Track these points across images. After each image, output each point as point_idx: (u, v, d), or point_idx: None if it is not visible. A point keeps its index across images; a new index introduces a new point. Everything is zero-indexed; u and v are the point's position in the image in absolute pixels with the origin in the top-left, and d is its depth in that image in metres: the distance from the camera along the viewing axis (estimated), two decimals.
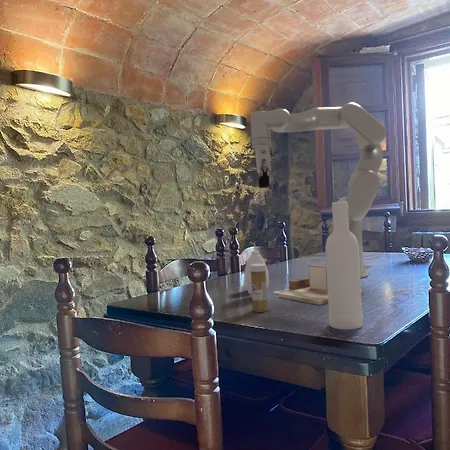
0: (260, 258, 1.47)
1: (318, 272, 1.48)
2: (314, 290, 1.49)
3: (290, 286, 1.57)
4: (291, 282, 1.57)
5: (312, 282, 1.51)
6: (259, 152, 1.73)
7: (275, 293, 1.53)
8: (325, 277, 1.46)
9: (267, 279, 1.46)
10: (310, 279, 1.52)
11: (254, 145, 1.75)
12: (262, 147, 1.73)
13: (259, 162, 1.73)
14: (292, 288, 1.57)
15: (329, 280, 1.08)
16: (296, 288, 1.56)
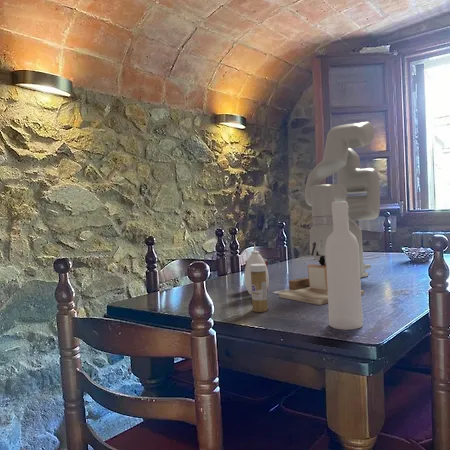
0: (260, 258, 1.47)
1: (317, 272, 1.48)
2: (314, 290, 1.49)
3: (290, 286, 1.57)
4: (291, 282, 1.57)
5: (312, 282, 1.51)
6: None
7: (275, 293, 1.54)
8: (324, 277, 1.46)
9: (267, 279, 1.46)
10: (310, 279, 1.52)
11: None
12: None
13: None
14: (292, 288, 1.57)
15: (329, 280, 1.08)
16: (296, 288, 1.56)
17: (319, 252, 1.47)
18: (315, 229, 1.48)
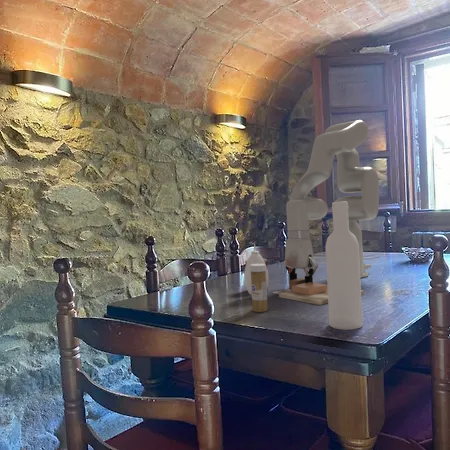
0: (260, 258, 1.47)
1: None
2: None
3: (290, 286, 1.57)
4: (291, 282, 1.57)
5: None
6: None
7: (275, 293, 1.54)
8: (316, 293, 1.44)
9: (267, 279, 1.46)
10: None
11: None
12: None
13: None
14: None
15: (329, 280, 1.08)
16: None
17: None
18: (308, 242, 1.54)
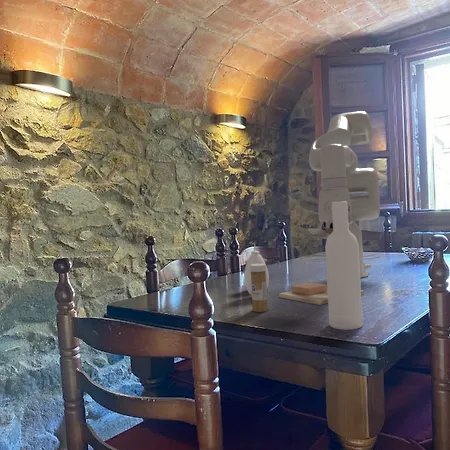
0: (260, 258, 1.47)
1: None
2: None
3: (327, 234, 1.40)
4: (330, 229, 1.40)
5: None
6: None
7: (311, 229, 1.36)
8: (316, 293, 1.44)
9: (267, 279, 1.46)
10: None
11: None
12: None
13: None
14: None
15: (329, 280, 1.08)
16: None
17: (351, 215, 1.38)
18: (346, 191, 1.37)
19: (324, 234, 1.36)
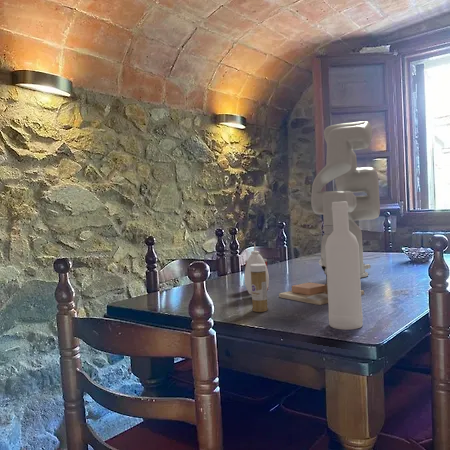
0: (260, 258, 1.47)
1: None
2: None
3: (326, 290, 1.40)
4: None
5: None
6: None
7: (310, 298, 1.36)
8: (316, 293, 1.44)
9: (267, 279, 1.46)
10: None
11: None
12: None
13: None
14: None
15: (329, 280, 1.08)
16: None
17: None
18: None
19: None
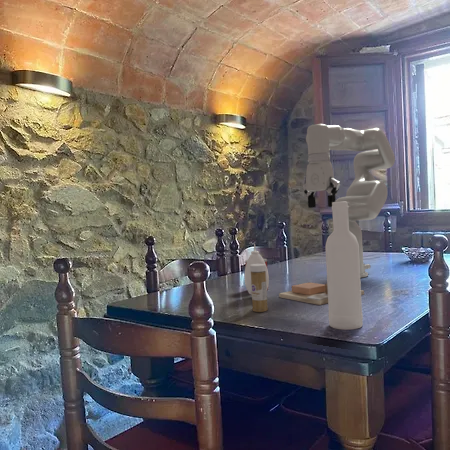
0: (260, 258, 1.47)
1: None
2: None
3: (326, 290, 1.40)
4: None
5: None
6: None
7: (310, 298, 1.36)
8: (316, 293, 1.44)
9: (267, 279, 1.46)
10: None
11: None
12: None
13: None
14: None
15: (329, 280, 1.08)
16: None
17: (334, 185, 1.60)
18: (329, 164, 1.59)
19: None
